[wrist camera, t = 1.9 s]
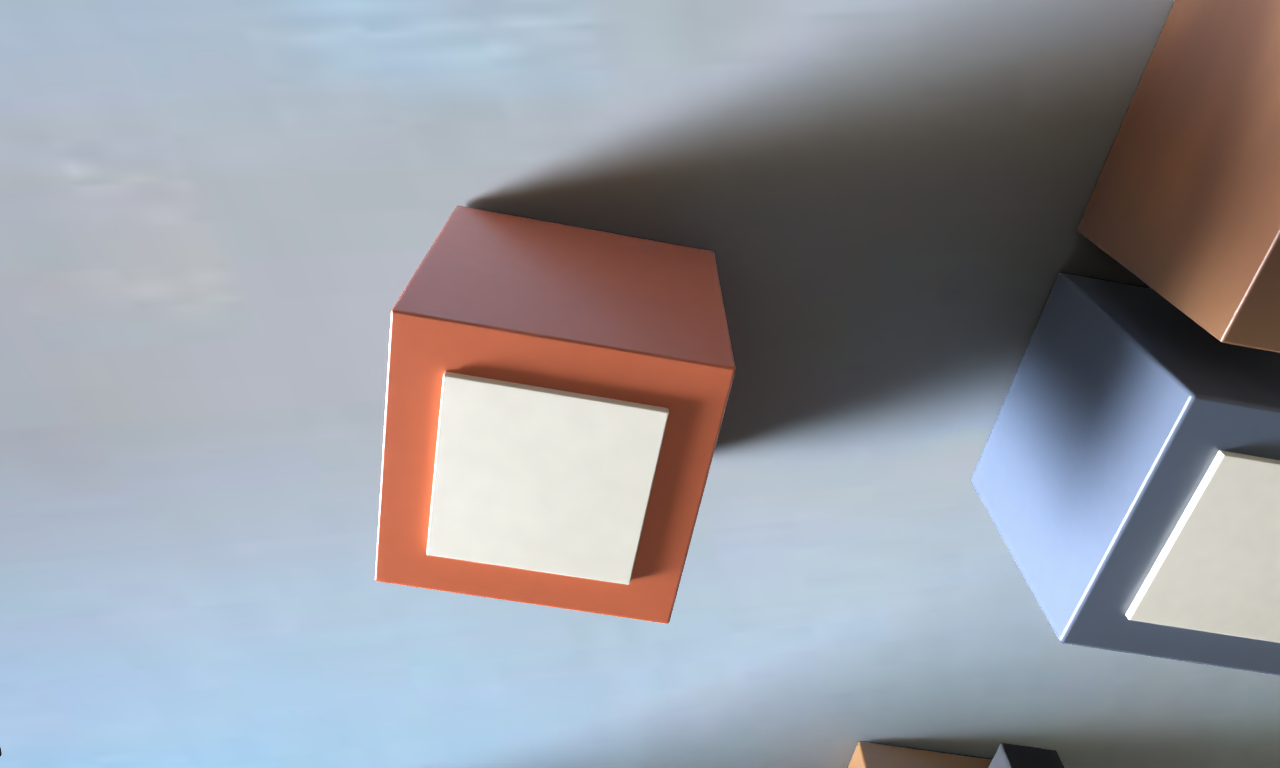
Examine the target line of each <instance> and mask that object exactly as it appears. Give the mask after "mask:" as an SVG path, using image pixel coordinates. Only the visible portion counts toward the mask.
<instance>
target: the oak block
mask: <svg viewBox="0 0 1280 768" xmlns="http://www.w3.org/2000/svg"><path fill="white" fill-rule="evenodd" d="M991 761H992V760H991V759H984V758H976V757H969V756H962V755H955V754H947V753H940V752H933V751H926V750H918V749H911V748H904V747H897V746H889V745H882V744H875V743H868V742H858V744H857V747H856V749H855V752H854V754H853V756H852V759H851V761H850V763H849V766H848V768H988V767H989V765H990V763H991Z"/></svg>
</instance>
